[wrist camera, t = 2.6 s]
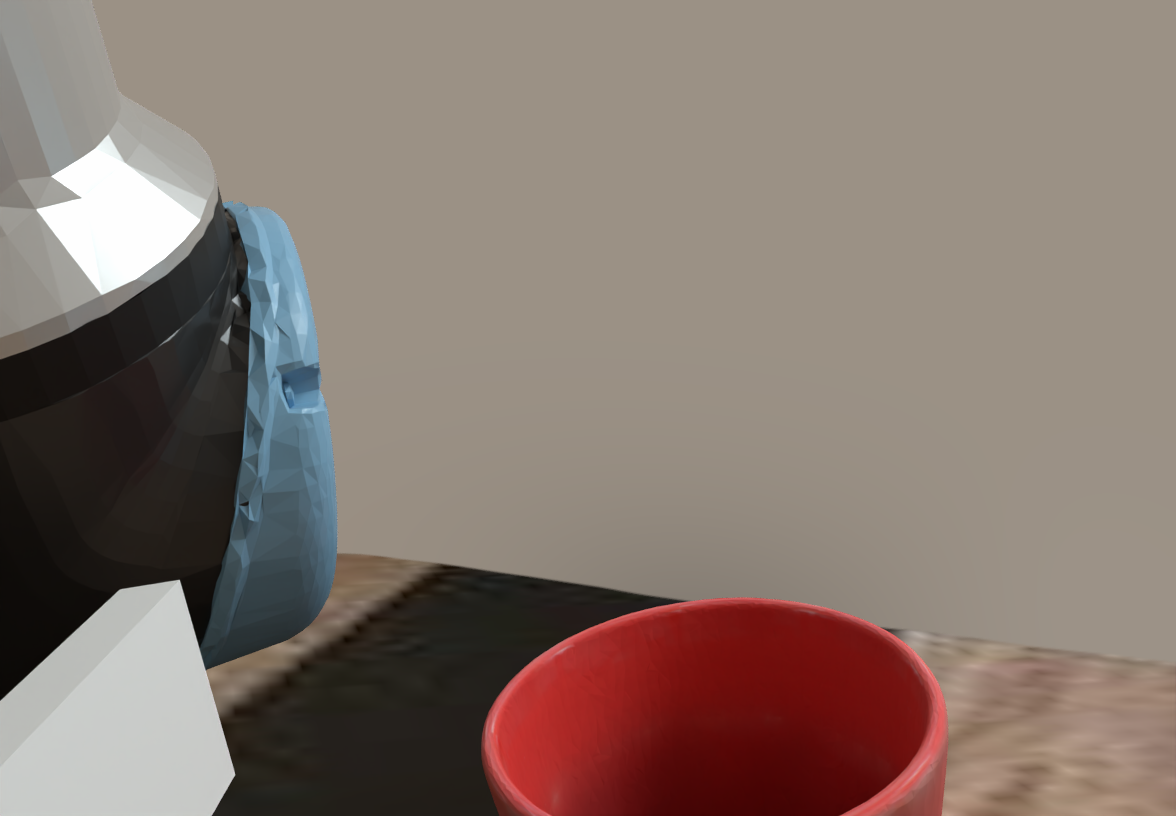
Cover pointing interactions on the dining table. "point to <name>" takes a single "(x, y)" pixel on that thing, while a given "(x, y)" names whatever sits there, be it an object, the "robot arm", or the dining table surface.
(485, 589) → the dining table surface
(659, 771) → the flower pot
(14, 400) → the robot arm
